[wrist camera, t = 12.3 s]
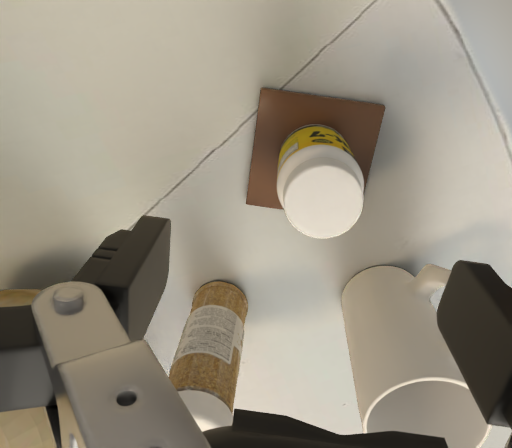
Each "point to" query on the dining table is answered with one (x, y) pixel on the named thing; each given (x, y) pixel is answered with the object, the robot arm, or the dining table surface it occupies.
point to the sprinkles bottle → (211, 354)
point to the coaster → (298, 115)
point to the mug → (406, 358)
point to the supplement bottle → (319, 182)
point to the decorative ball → (25, 420)
